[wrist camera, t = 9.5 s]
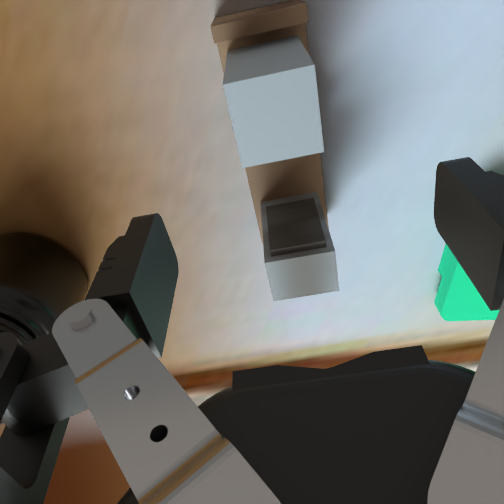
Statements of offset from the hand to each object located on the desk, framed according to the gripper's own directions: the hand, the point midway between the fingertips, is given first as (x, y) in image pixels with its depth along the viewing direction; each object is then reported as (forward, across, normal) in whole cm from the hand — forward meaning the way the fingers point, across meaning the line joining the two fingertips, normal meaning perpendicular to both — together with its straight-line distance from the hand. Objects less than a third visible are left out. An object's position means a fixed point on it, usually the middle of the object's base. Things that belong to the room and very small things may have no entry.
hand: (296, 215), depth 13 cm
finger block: (+15, 0, 0) cm, 16 cm away
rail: (+18, 0, +4) cm, 18 cm away
